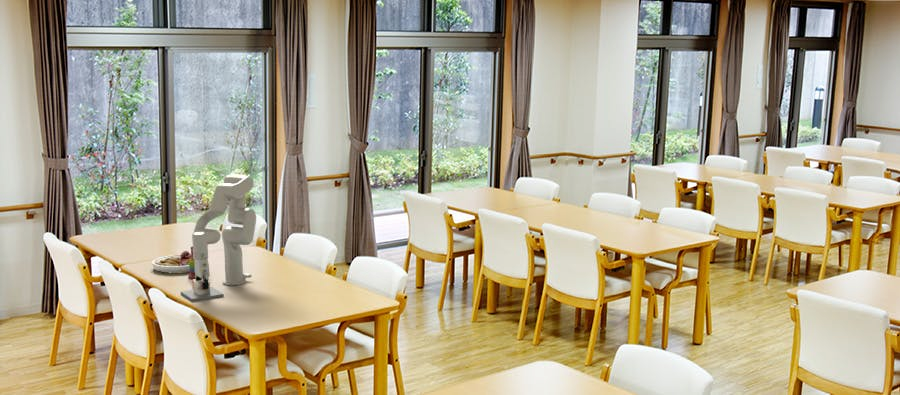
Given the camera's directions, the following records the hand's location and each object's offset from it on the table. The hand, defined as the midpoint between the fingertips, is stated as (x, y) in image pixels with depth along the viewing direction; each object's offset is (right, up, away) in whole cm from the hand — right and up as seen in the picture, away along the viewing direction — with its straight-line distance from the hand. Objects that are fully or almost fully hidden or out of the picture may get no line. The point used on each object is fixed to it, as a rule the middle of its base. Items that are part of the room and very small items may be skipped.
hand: (202, 287), depth 490 cm
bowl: (-29, +5, +58) cm, 65 cm away
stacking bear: (-13, +2, +39) cm, 41 cm away
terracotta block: (-5, -2, +14) cm, 15 cm away
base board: (0, -4, 0) cm, 4 cm away
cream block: (0, -3, 0) cm, 3 cm away
